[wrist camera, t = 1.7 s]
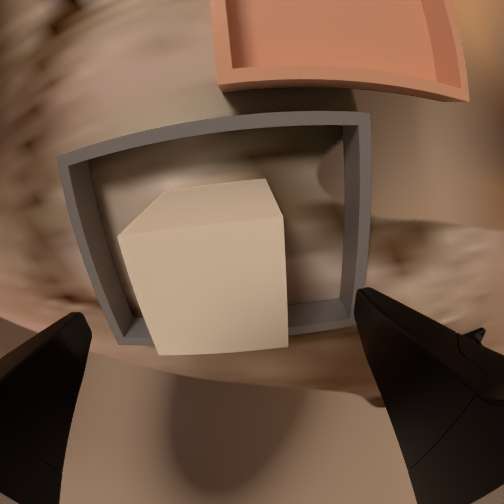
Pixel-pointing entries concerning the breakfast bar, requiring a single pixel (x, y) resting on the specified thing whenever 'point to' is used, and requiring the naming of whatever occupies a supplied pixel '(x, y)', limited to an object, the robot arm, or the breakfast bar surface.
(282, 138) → the breakfast bar surface
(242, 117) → the gray rectangular frame
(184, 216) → the stone block
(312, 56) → the terracotta tray
